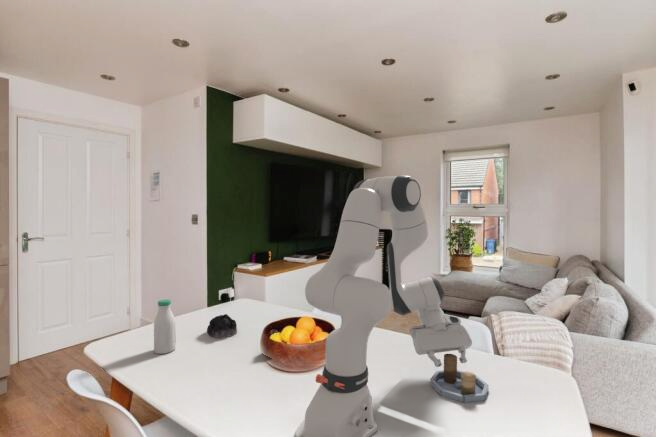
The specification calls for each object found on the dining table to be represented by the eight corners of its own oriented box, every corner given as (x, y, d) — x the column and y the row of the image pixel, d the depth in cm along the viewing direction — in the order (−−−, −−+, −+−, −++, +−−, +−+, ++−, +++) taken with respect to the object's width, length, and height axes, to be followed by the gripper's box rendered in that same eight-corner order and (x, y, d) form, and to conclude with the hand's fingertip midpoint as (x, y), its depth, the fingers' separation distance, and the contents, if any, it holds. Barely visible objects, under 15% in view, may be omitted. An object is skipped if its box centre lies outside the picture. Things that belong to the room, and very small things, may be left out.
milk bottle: (175, 352, 135) (174, 302, 134) (153, 355, 132) (152, 304, 131) (176, 345, 142) (175, 297, 141) (155, 348, 139) (154, 299, 138)
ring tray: (481, 412, 96) (481, 402, 96) (425, 394, 105) (425, 385, 105) (491, 387, 110) (491, 378, 109) (440, 373, 119) (440, 365, 118)
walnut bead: (454, 385, 109) (455, 360, 108) (442, 381, 111) (442, 357, 111) (458, 379, 112) (458, 355, 112) (445, 376, 114) (445, 352, 114)
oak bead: (473, 399, 101) (474, 379, 100) (459, 395, 103) (459, 375, 103) (476, 393, 104) (476, 373, 104) (462, 389, 106) (463, 370, 106)
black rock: (213, 329, 163) (211, 309, 162) (242, 327, 162) (239, 307, 161) (203, 342, 149) (200, 320, 148) (234, 340, 149) (231, 318, 148)
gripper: (411, 322, 115) (427, 364, 106) (463, 317, 120) (482, 356, 111) (404, 331, 119) (419, 371, 110) (455, 325, 125) (473, 364, 116)
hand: (451, 364), depth 111 cm, fingers open, 8 cm apart
